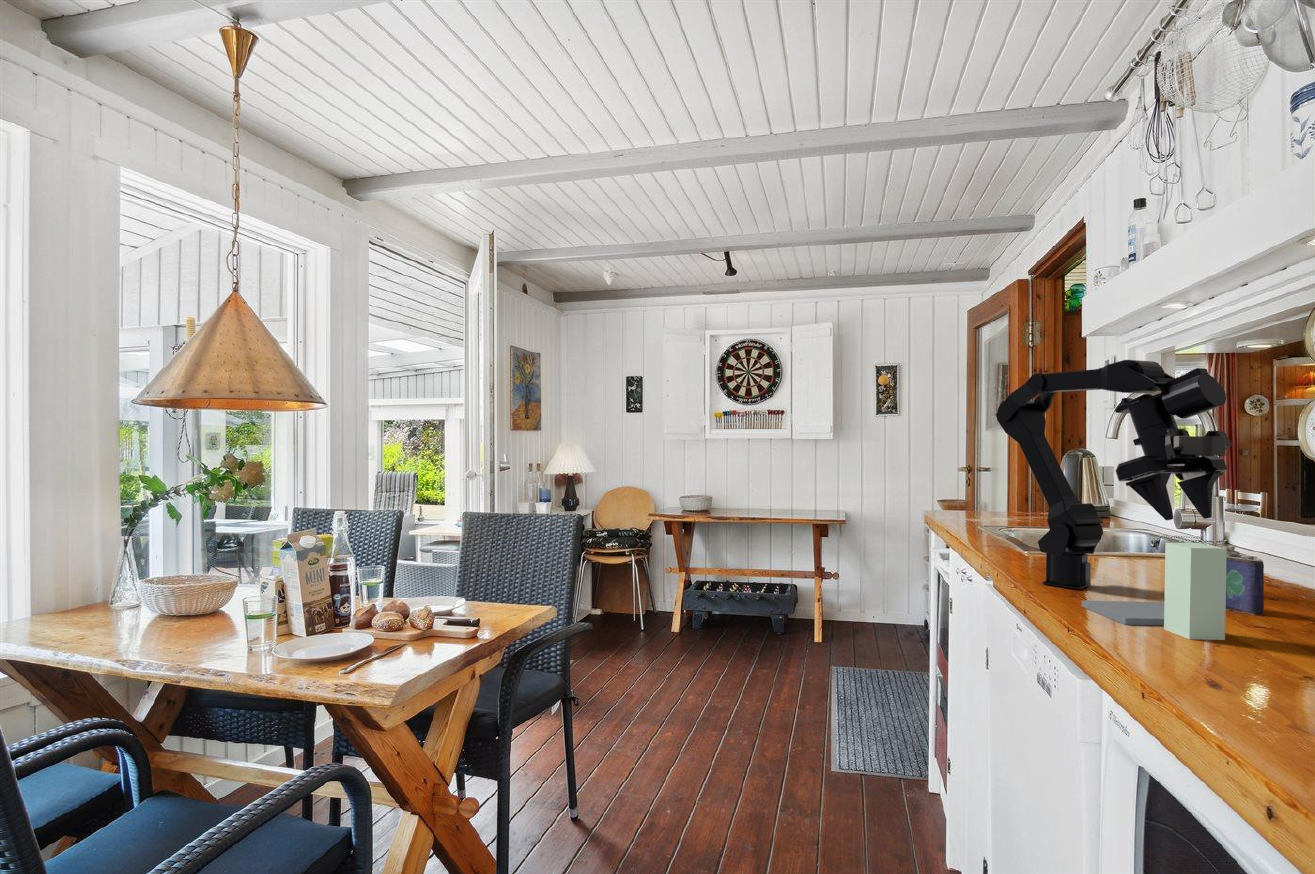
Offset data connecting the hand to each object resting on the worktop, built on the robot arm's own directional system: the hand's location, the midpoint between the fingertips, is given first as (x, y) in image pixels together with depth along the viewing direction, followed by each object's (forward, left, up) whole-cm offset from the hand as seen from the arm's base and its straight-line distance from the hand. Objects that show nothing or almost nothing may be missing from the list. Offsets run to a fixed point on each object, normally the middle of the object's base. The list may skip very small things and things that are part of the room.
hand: (1189, 518), depth 112 cm
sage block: (+4, -13, -16) cm, 21 cm away
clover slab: (+3, +10, -16) cm, 19 cm away
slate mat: (-4, -7, -15) cm, 17 cm away
